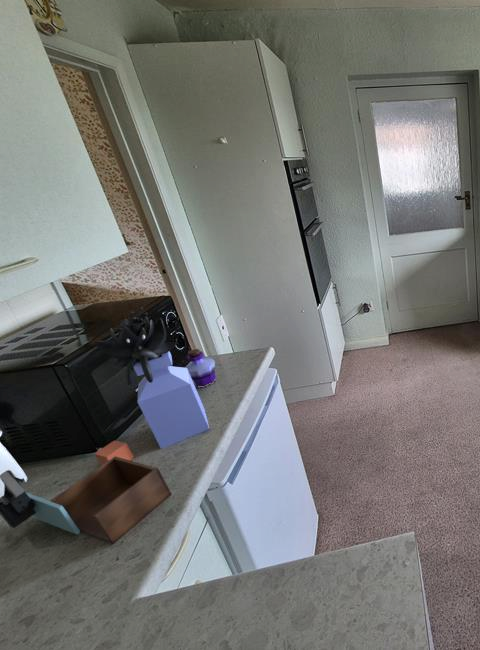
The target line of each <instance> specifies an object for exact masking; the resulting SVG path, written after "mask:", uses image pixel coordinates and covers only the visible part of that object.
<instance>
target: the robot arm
mask: <svg viewBox="0 0 480 650" xmlns="http://www.w3.org/2000/svg"><path fill="white" fill-rule="evenodd" d="M2 435H3V430H2V429H0V437H2ZM27 481H28V476H27V474H26V473H25V471H24V470H23V469H22V467H21V466H20V464H19V463H18V462H17V460H16V459H15V458H14V456H12V453H10V452H9V450H8V449H7V448H6V447H5V446H4V445H3V443H1V442H0V507H1V508H2V509H3V511H4V512H5V513H6V514H7V516H8V517H9V518H12V519H14V520H15V519H18V518H19V517H21V516H22V515H23V514H25V513H26V512H28V511H29V510H31V509H32V508H34V507H35V504H34V503H33V502H32V500H31V499H30V498H29V496H28V495H27V494H26V493H27V492H26V491H25V489H24V488H23V487H22V485H21V484H26V483H27ZM20 483H21V484H20Z"/></svg>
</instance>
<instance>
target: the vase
mask: <svg viewBox="0 0 480 650" xmlns="http://www.w3.org/2000/svg"><path fill="white" fill-rule="evenodd" d="M140 310H141V311H142V310H144V308H143V306H141V307H139V309H137V310H136V311H135V312H134V311H130V315H129V316H128V318H123V319H122V320H121V321H120V322H121V327H120V326H118V327H117V333H118V337H117V336H116V334H115V333H114V331H113V328H111V327H110V328H109V333H110V336H111V339H107V340H106V339H105V340H97V341H96V340H95V341H94V342H93V344H94V346H95V347H97V348H98V349H99V350H100V351H101V352H103V354H105V355H107V356H108V357H110V358H113V359H116V360H117V361H116V362H115V364H114V365H113V367H112V369H120V368H125V371H124V379H125V383H126V384H127V386H131V385H132V383H133V373H134V372H133V371H135V374H136V376H137V377H140V376H143V375H144V377H143V378H142V379H141V380H140V382H138V383H137V386H138V387H137V404H138V406H139V408H140V410H141V412H142V414H143V416H144V419H145V420H146V424H148V426H149V428H150V430H151V432H152V434H153V436H154V438H155V440H156V441H157V444H158V446H159V448H160V449H161V450H162V449H165V448H167V447H169V446H172V445H175V444H177V443H179V442H182V441H184V440H187V439H190V438H191V437H194V436H196V435H199V434H201V433H204V432H207V431H209V430H210V426H209V421H208V417H207V413H205V412H206V410H205V407H204V404H203V402H202V400H201V397H200V395H199V393H198V390H197V387H196V386H195V382H194V381H193V379H191V376H190V374H189V371H188V369H187V368H185V367H182V366H173V358H172V354H171V352H170V351H172V350H173V348H175V346H177V344H178V342H177V341H173V342H166V341H167V334H168V333H167V330H166V326H165V324H164V321H163V319H162V318H161V317H159V318H157V320H156V321H155V322H153V320H152V319H149V318H148V314H149V313H148V312H144V314H143V315H142V316H140V317H135V316H136V314H137V313H138V312H139V311H140ZM132 315H133V316H132ZM131 316H132V317H131ZM144 316H145V318H144V319H143V318H142V317H144ZM130 317H131V318H130Z"/></svg>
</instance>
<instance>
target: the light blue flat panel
mask: <svg viewBox="0 0 480 650" xmlns="http://www.w3.org/2000/svg"><path fill="white" fill-rule="evenodd" d="M26 494H27V495H28V496H29V498H30V499H31V500H32V502H33V503H34V504H35V507H34V508H32V509H31V510H29V511H28V512H26V513H25V514H23V515H22V516H21V517H19V518H18V519H15V520H14V519H12V518H9V517H8V516H7V514H6V513H5V512H4V511H3V509H2V508H1V507H0V516H1V518H2V519H3V520H4V521H5V522H6V524H7V525H8V526H9V527H10V528H11V529H15V528H17V527H18V526H20V525H21V524H23V523H24V522H25V521H27V520H28V519H30V518H31V517H34V518H35V519H36V520H39V521H40V522H44V523H46V524H49V525H51V526H54V527H56V528H59V529H62V530H64V531H66V532H69V533H72V534H75V535H79V534H80V533H81V531H79V529H78V528H77V526H76V525H75V523H74V522H73V521H72V519H71V518H70V516H69V515H68V513H67V512H66V511H65V509H64V508H63V506H61V505H58V504H56V503H53V502H51V500H48V499H44V498H42V497H39V496H36V495H33V494H30V493H29V492H26Z"/></svg>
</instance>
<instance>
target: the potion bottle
mask: <svg viewBox="0 0 480 650" xmlns="http://www.w3.org/2000/svg"><path fill="white" fill-rule="evenodd" d="M204 357H205V355H204V352H203V351H202V350H200V348H195V349H191V350H188V351H187V356H186V358H187V361H188V362H190V363H188V364H187V365H186V366H185V367H184V368H187V369H188V371H189V374H190V376H191V379H192V381H193V383H194V384H195V385H196V386H197V385H198V386H205V385H207V384H209V383H212V382H213V381H214V379H216V371H215V370H216V363H215V362H216V361H215V360H214V359H213V358H212V357H206V358H204Z"/></svg>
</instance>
